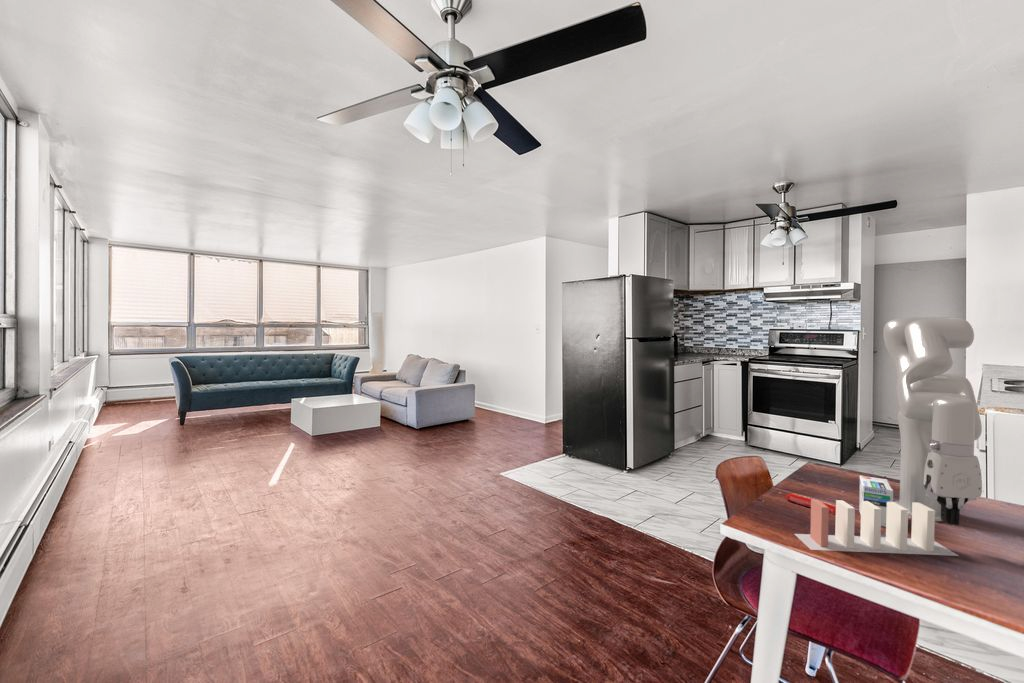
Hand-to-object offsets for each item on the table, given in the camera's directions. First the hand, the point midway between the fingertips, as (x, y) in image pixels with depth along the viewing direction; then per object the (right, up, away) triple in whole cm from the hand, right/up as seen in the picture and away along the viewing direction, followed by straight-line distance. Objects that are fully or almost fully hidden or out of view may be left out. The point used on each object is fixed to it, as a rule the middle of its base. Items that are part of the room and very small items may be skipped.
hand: (949, 522), depth 113 cm
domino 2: (-24, -6, +3) cm, 25 cm away
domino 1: (-30, -7, +4) cm, 31 cm away
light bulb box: (-5, -6, +17) cm, 19 cm away
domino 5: (-6, -6, +1) cm, 9 cm away
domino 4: (-12, -6, +2) cm, 13 cm away
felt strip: (-17, -7, +2) cm, 19 cm away
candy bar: (-16, -6, +26) cm, 31 cm away
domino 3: (-18, -6, +2) cm, 19 cm away
